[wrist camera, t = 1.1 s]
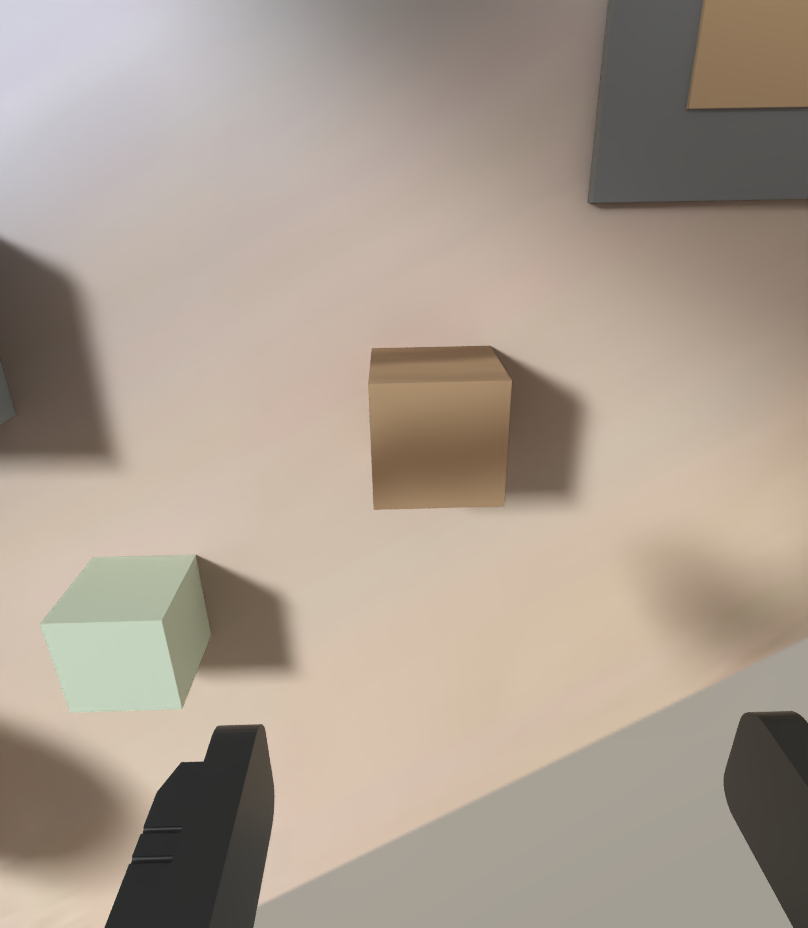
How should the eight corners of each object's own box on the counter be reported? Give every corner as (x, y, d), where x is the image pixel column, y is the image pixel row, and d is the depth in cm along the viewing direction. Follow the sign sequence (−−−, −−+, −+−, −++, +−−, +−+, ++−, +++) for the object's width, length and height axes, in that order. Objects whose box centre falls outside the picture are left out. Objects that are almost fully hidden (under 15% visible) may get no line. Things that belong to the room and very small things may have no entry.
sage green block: (93, 556, 29) (39, 624, 25) (196, 553, 30) (161, 620, 25) (115, 636, 32) (69, 712, 27) (211, 634, 32) (182, 709, 27)
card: (632, -234, 18) (642, -251, 17) (1026, -237, 18) (1052, -254, 18) (587, 202, 23) (593, 202, 22) (896, 196, 23) (912, 197, 23)
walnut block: (371, 347, 25) (368, 383, 21) (489, 345, 26) (511, 380, 21) (376, 455, 28) (373, 509, 23) (485, 453, 28) (504, 506, 23)
